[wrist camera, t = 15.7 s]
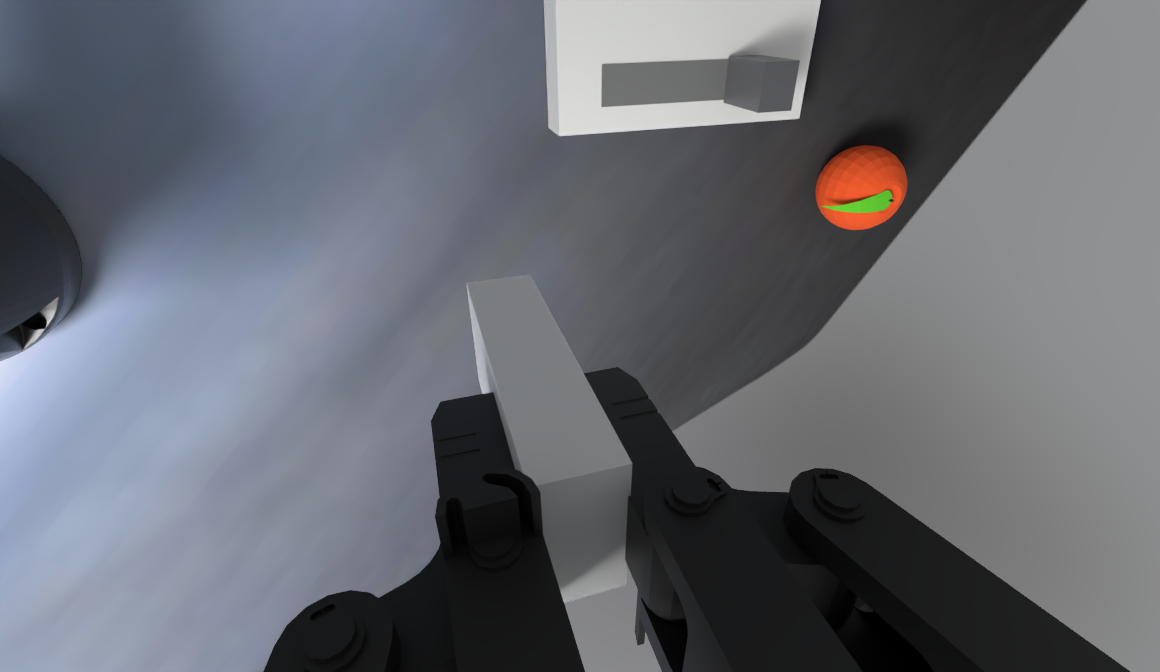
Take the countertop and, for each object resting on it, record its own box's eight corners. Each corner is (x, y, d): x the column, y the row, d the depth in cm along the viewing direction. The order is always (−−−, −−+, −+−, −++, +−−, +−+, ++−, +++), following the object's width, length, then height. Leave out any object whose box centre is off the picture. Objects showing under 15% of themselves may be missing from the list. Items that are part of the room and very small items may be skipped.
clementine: (786, 227, 51) (839, 256, 45) (788, 152, 47) (846, 173, 41) (861, 203, 52) (922, 229, 46) (870, 128, 48) (936, 145, 42)
